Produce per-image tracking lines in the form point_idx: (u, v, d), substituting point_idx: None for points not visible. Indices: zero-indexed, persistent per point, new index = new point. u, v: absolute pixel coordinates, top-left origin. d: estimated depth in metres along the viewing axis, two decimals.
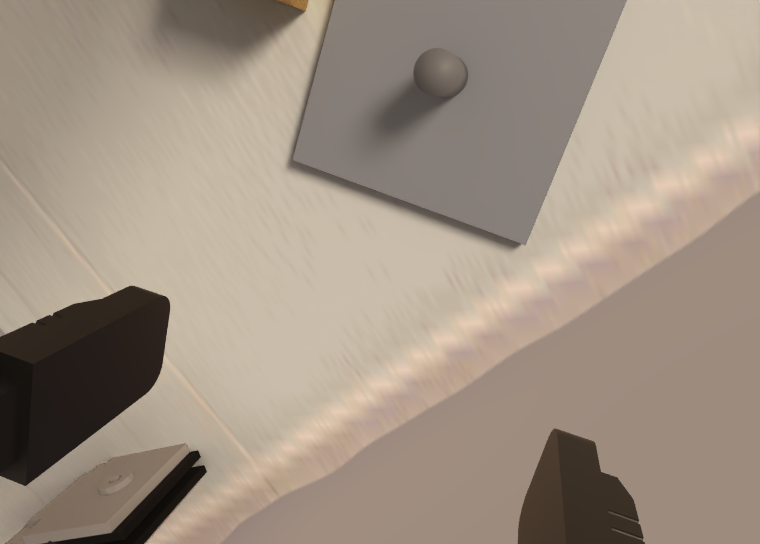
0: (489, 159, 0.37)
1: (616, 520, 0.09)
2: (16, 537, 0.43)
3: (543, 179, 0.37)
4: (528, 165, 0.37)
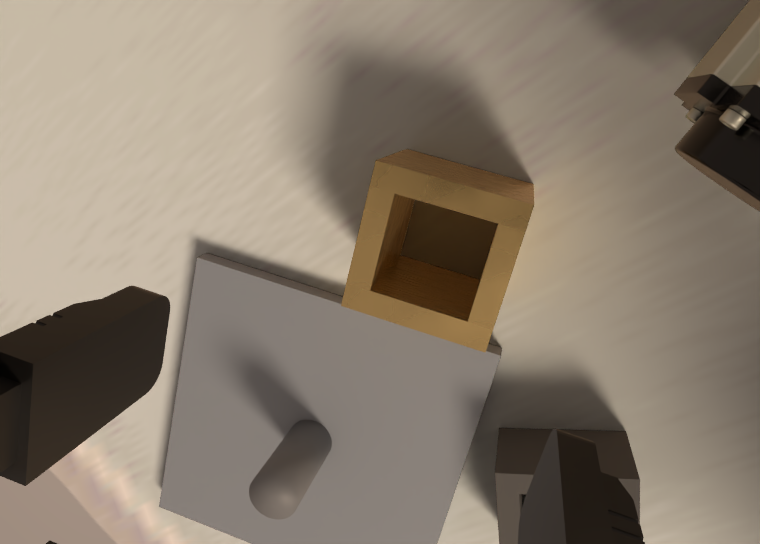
0: (233, 477, 0.34)
1: (616, 520, 0.09)
2: None
3: (223, 524, 0.35)
4: (234, 512, 0.35)
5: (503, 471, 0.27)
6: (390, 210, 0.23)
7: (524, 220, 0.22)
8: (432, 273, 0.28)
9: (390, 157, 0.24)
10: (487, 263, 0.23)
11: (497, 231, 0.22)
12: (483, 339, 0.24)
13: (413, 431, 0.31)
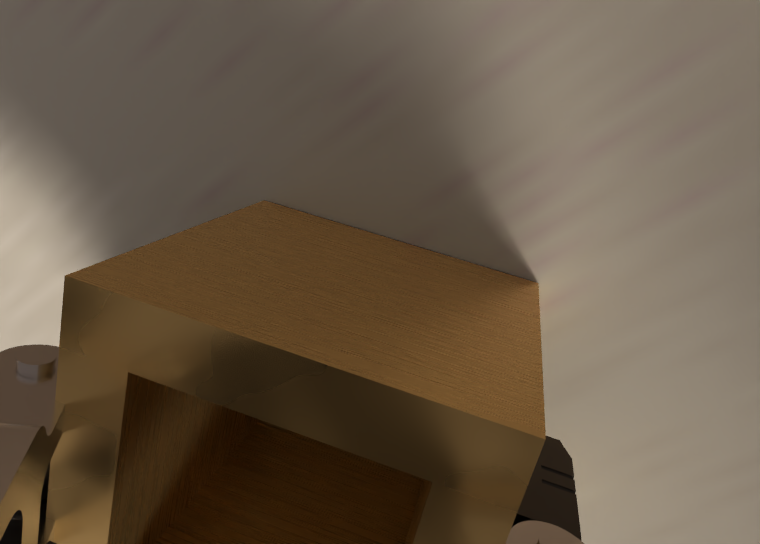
0: None
1: (552, 476, 0.10)
2: None
3: None
4: None
5: None
6: (125, 414, 0.08)
7: (514, 480, 0.07)
8: (319, 470, 0.13)
9: (159, 246, 0.09)
10: None
11: (430, 503, 0.07)
12: None
13: None
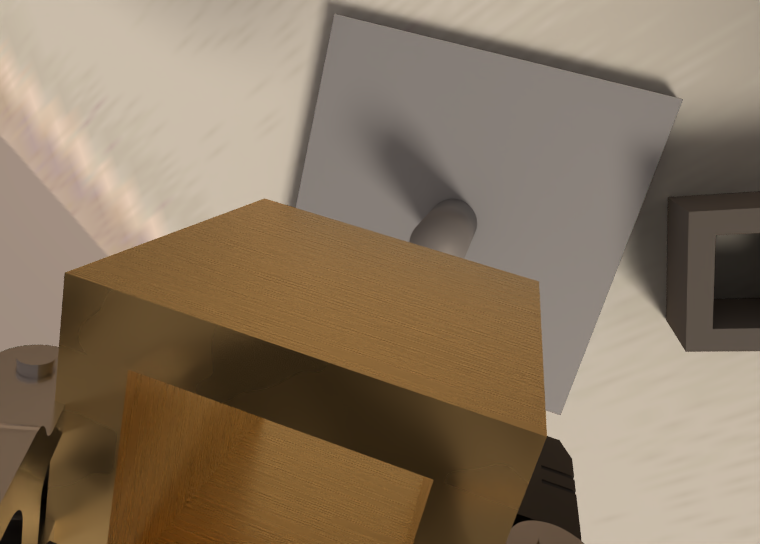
0: None
1: (552, 475, 0.10)
2: None
3: None
4: None
5: (697, 211, 0.25)
6: (125, 412, 0.08)
7: (515, 477, 0.07)
8: (319, 469, 0.13)
9: (159, 244, 0.09)
10: None
11: (431, 500, 0.07)
12: None
13: (573, 201, 0.28)
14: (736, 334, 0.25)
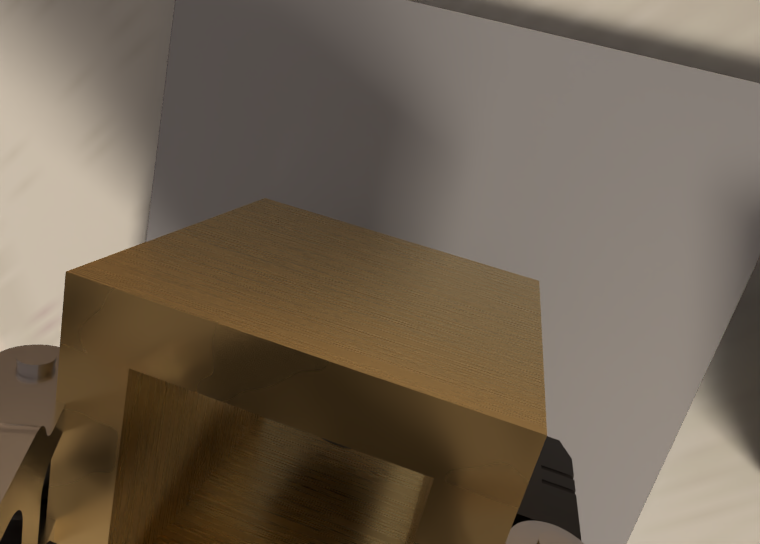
0: None
1: (552, 476, 0.10)
2: None
3: None
4: None
5: None
6: (126, 411, 0.08)
7: (515, 476, 0.07)
8: (319, 468, 0.13)
9: (160, 243, 0.09)
10: None
11: (431, 499, 0.07)
12: None
13: (612, 286, 0.16)
14: None
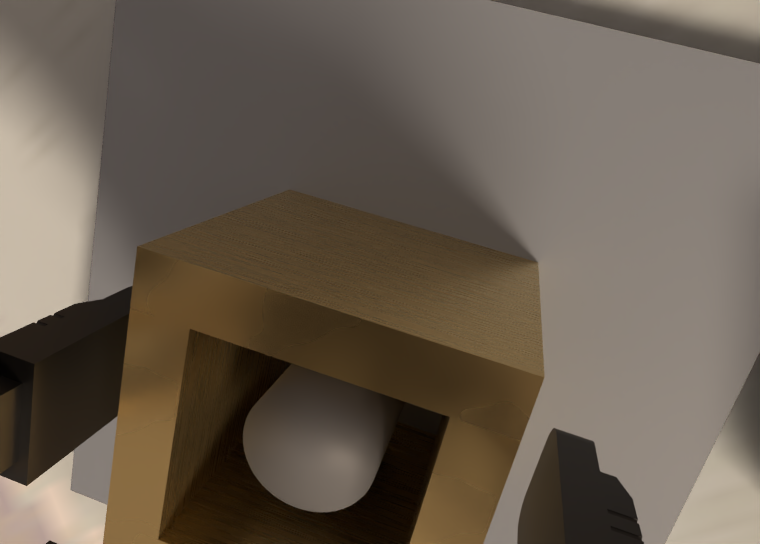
0: None
1: (615, 519, 0.09)
2: None
3: None
4: None
5: None
6: (185, 366, 0.09)
7: (518, 413, 0.08)
8: None
9: (208, 225, 0.10)
10: (424, 507, 0.09)
11: (447, 435, 0.09)
12: None
13: (623, 309, 0.13)
14: None
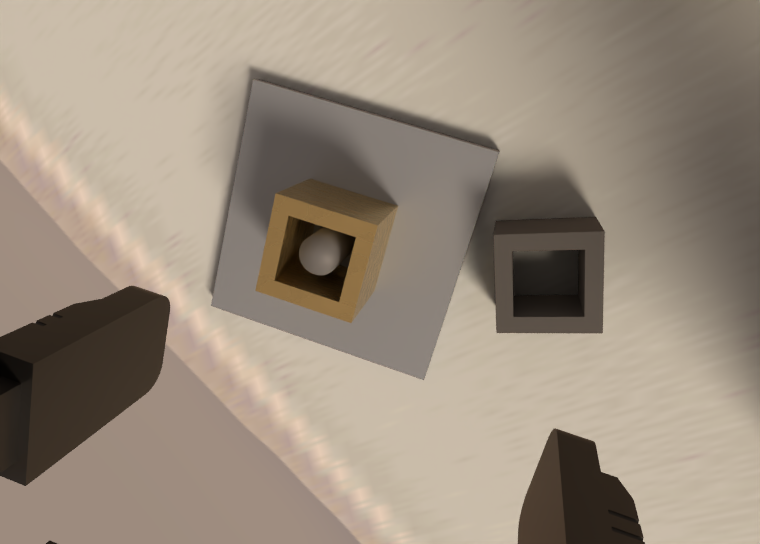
0: None
1: (616, 520, 0.09)
2: None
3: (265, 318, 0.43)
4: (275, 305, 0.42)
5: (500, 234, 0.35)
6: (286, 226, 0.34)
7: (372, 235, 0.33)
8: None
9: (289, 189, 0.35)
10: (350, 263, 0.34)
11: (355, 242, 0.34)
12: (349, 314, 0.35)
13: (427, 222, 0.39)
14: (529, 321, 0.36)
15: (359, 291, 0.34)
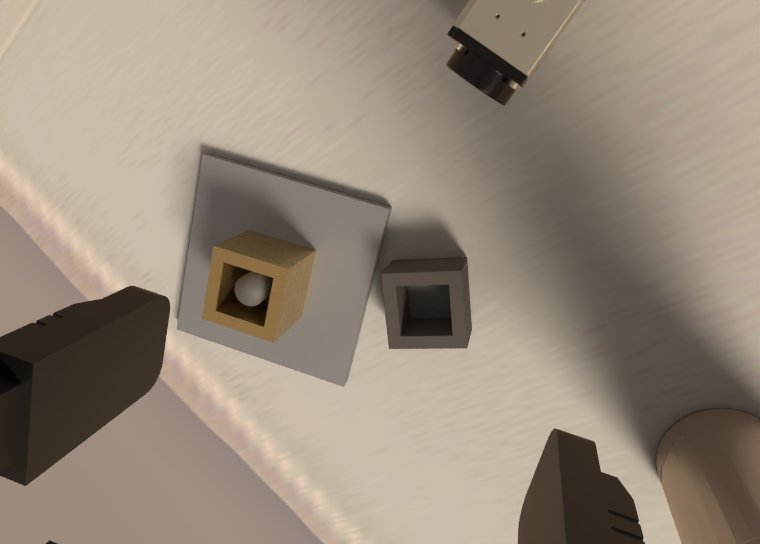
0: None
1: (616, 520, 0.09)
2: None
3: (219, 338, 0.54)
4: (226, 328, 0.53)
5: (386, 273, 0.46)
6: (222, 270, 0.45)
7: (285, 276, 0.44)
8: None
9: (226, 240, 0.46)
10: (270, 297, 0.45)
11: (273, 281, 0.44)
12: (272, 336, 0.46)
13: (338, 262, 0.49)
14: (412, 339, 0.46)
15: (278, 318, 0.45)
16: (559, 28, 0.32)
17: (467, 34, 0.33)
